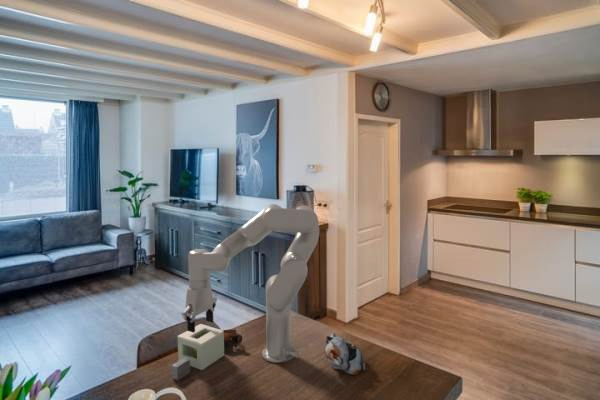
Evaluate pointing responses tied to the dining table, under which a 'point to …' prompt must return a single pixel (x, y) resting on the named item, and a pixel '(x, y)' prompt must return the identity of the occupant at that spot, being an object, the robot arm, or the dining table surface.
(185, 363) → the block
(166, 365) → the dining table surface
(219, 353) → the cream slotted box
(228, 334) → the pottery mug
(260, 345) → the dining table surface
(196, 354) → the block
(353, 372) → the lucky cat figurine
